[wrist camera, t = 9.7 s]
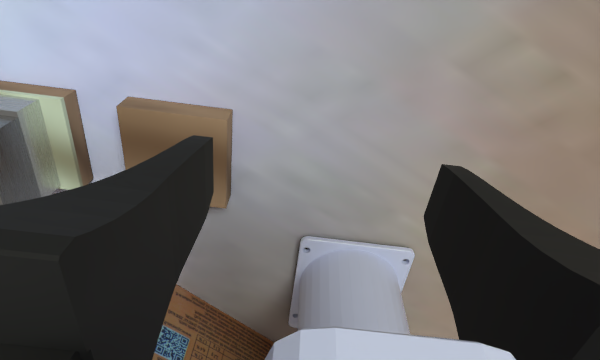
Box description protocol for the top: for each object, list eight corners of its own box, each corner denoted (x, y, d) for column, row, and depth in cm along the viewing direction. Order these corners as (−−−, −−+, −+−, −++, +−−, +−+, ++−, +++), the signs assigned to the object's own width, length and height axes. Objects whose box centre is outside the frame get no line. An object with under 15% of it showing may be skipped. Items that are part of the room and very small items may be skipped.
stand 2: (230, 194, 25) (225, 208, 24) (139, 184, 25) (129, 197, 24) (232, 109, 22) (227, 120, 21) (128, 96, 22) (116, 106, 21)
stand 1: (93, 178, 25) (81, 191, 24) (0, 167, 25) (-17, 179, 24) (75, 90, 22) (60, 99, 21) (-32, 76, 22) (-53, 85, 21)
